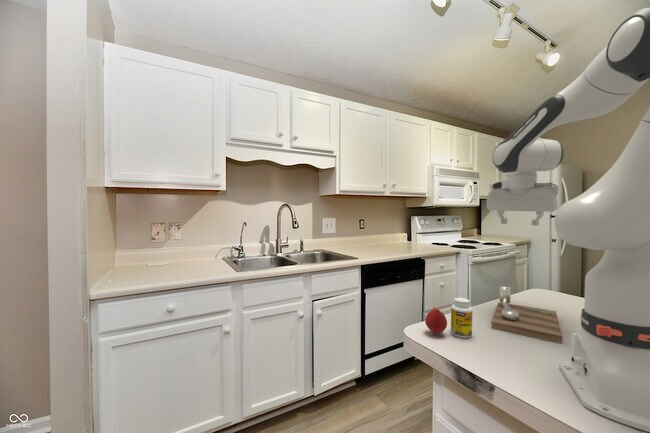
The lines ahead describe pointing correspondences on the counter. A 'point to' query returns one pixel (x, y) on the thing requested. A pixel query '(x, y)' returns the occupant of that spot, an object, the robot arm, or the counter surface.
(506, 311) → the silver measuring spoon
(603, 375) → the robot arm
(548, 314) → the board
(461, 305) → the supplement bottle
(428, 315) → the onion
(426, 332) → the counter surface
